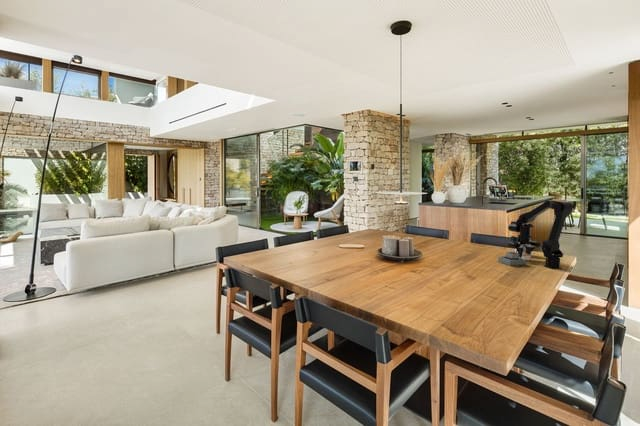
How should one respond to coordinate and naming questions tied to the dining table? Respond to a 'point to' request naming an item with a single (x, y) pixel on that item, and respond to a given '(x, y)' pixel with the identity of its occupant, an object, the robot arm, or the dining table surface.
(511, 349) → the dining table surface
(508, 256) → the metal box
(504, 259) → the tote
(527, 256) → the pinkish brown block
